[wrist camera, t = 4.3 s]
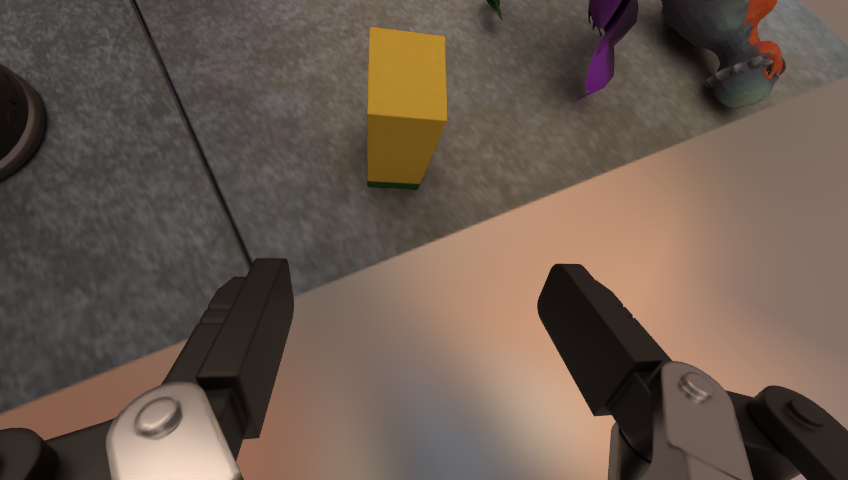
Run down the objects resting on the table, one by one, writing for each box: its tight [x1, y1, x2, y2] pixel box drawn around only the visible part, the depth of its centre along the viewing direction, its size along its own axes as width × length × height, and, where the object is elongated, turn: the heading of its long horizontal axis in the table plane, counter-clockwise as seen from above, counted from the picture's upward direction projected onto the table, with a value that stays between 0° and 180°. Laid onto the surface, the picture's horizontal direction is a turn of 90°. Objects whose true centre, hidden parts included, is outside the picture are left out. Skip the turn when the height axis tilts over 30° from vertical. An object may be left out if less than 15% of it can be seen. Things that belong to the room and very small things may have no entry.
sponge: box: [367, 27, 447, 189], centre depth 21 cm, size 4×5×10 cm
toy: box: [661, 0, 786, 108], centre depth 30 cm, size 19×11×15 cm
